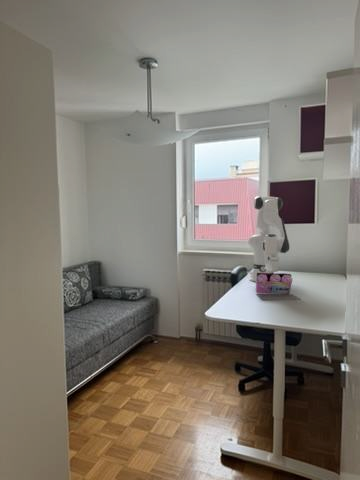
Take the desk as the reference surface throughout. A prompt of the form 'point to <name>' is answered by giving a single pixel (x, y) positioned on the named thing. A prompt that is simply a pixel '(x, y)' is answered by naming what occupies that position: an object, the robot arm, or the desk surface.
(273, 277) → the gum box
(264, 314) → the desk surface
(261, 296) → the mat
